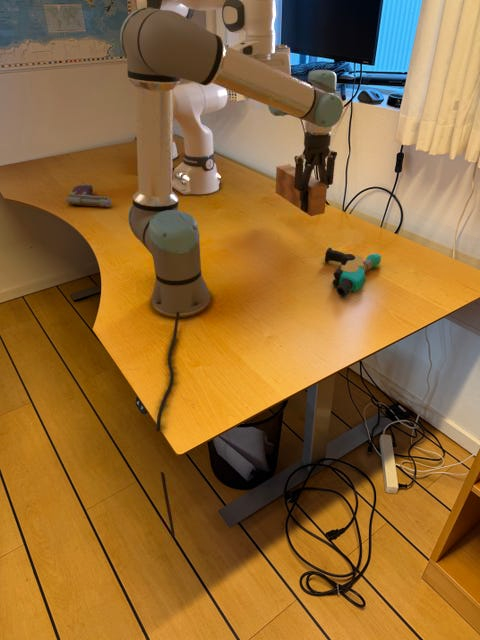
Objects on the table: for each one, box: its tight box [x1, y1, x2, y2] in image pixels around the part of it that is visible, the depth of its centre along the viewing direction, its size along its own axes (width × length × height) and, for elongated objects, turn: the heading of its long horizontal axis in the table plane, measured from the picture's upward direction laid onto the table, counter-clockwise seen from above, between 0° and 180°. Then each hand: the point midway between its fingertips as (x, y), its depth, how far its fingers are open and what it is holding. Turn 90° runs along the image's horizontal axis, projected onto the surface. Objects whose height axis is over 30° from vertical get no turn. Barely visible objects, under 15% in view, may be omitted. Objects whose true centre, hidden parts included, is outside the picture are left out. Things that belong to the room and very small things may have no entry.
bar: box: [275, 164, 328, 217], centre depth 152 cm, size 22×5×9 cm, turn 26°
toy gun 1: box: [65, 184, 112, 208], centre depth 182 cm, size 4×19×15 cm
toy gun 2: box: [324, 247, 382, 299], centre depth 133 cm, size 4×26×15 cm
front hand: (311, 209), depth 148 cm, fingers closed on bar, 5 cm apart
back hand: (260, 96), depth 151 cm, fingers open, 8 cm apart
